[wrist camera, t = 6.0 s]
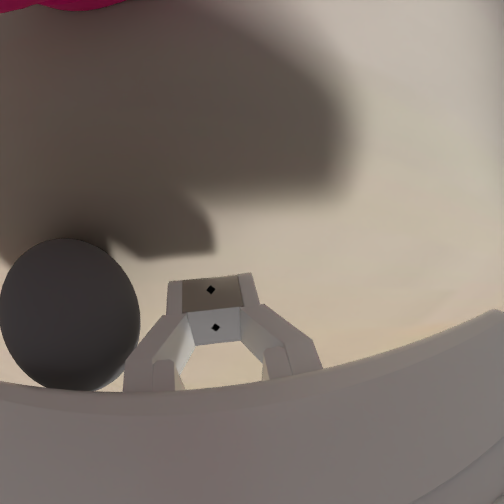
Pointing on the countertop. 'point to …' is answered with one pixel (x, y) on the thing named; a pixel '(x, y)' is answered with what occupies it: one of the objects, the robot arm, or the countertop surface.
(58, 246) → the dark grey ball
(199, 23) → the countertop surface
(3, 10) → the pepper mill
